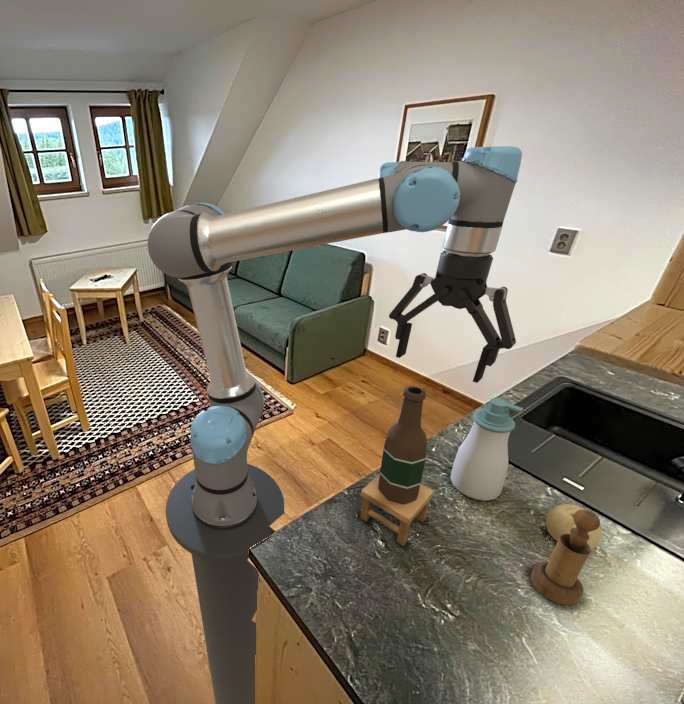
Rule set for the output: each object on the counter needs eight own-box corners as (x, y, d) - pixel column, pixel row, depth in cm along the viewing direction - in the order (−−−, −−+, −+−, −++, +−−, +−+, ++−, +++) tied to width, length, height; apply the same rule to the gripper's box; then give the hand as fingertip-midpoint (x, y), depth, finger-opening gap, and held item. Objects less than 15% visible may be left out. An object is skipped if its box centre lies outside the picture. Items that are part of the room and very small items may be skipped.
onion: (609, 560, 72) (603, 539, 69) (553, 554, 77) (544, 534, 74) (600, 519, 77) (593, 498, 74) (547, 515, 82) (538, 496, 79)
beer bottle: (369, 490, 81) (382, 390, 70) (389, 470, 85) (404, 374, 75) (406, 512, 76) (427, 408, 65) (426, 490, 80) (448, 389, 69)
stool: (358, 518, 85) (361, 490, 81) (382, 492, 90) (386, 465, 87) (404, 548, 78) (409, 519, 74) (427, 518, 83) (434, 490, 80)
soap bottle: (491, 510, 84) (520, 423, 74) (442, 486, 91) (462, 403, 80) (506, 485, 89) (535, 400, 79) (458, 464, 96) (479, 383, 86)
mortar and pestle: (572, 577, 70) (610, 504, 62) (584, 612, 65) (627, 537, 57) (526, 564, 73) (556, 492, 65) (534, 597, 68) (568, 523, 60)
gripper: (567, 260, 60) (521, 384, 69) (401, 240, 76) (382, 341, 85) (557, 268, 55) (509, 400, 64) (383, 244, 71) (364, 352, 80)
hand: (436, 367), depth 75 cm, fingers open, 13 cm apart
